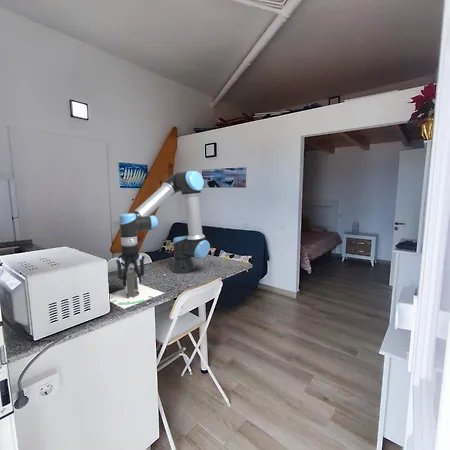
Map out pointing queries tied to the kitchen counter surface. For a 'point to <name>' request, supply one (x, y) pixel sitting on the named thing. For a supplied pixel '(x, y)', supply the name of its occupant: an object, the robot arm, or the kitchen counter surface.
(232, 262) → the kitchen counter surface
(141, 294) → the board
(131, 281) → the grey piece
